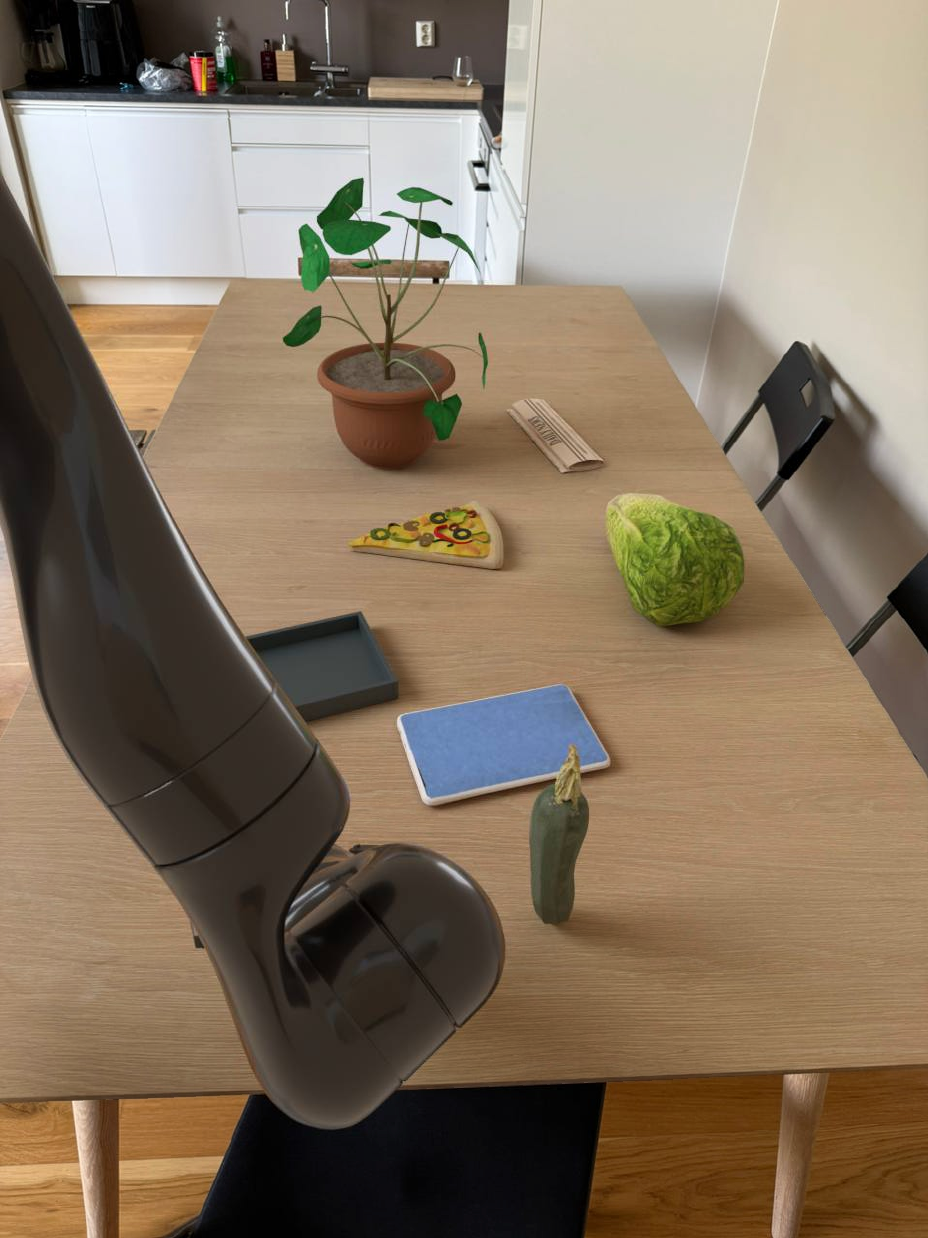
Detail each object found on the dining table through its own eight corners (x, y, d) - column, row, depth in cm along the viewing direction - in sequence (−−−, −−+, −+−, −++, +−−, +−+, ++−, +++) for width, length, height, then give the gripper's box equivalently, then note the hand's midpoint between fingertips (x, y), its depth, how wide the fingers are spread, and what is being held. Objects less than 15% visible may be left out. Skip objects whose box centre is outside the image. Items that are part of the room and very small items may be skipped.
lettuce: (569, 555, 124) (665, 554, 127) (634, 640, 103) (747, 636, 106) (583, 458, 118) (684, 459, 121) (655, 527, 97) (775, 526, 100)
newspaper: (603, 467, 139) (604, 457, 138) (561, 473, 137) (562, 463, 136) (543, 406, 157) (544, 396, 155) (506, 410, 155) (506, 401, 154)
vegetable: (555, 955, 72) (582, 789, 60) (509, 929, 74) (526, 763, 62) (579, 914, 75) (609, 749, 63) (534, 891, 77) (555, 726, 65)
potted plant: (518, 473, 137) (538, 195, 113) (336, 506, 128) (316, 211, 103) (445, 395, 159) (449, 149, 135) (286, 418, 150) (259, 158, 126)
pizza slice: (512, 569, 116) (514, 550, 114) (354, 583, 113) (352, 564, 111) (487, 509, 128) (488, 491, 126) (343, 520, 125) (342, 501, 123)
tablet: (424, 811, 84) (424, 802, 83) (394, 721, 93) (394, 711, 92) (612, 771, 89) (614, 762, 88) (565, 689, 98) (566, 680, 97)
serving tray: (239, 739, 91) (235, 721, 89) (215, 660, 100) (212, 643, 99) (398, 698, 96) (398, 681, 95) (362, 627, 106) (361, 610, 104)
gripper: (419, 811, 52) (364, 800, 68) (168, 885, 48) (173, 855, 64) (450, 938, 52) (388, 897, 68) (199, 1025, 47) (196, 959, 63)
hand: (283, 877), depth 66 cm, fingers closed on beverage can, 5 cm apart
